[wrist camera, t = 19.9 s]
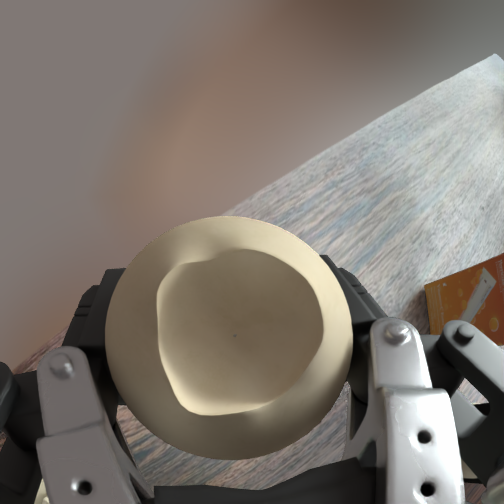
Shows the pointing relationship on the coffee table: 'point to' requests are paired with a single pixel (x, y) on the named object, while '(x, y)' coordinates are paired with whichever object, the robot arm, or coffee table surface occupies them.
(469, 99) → the coffee table surface
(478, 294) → the small box
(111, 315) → the candle
